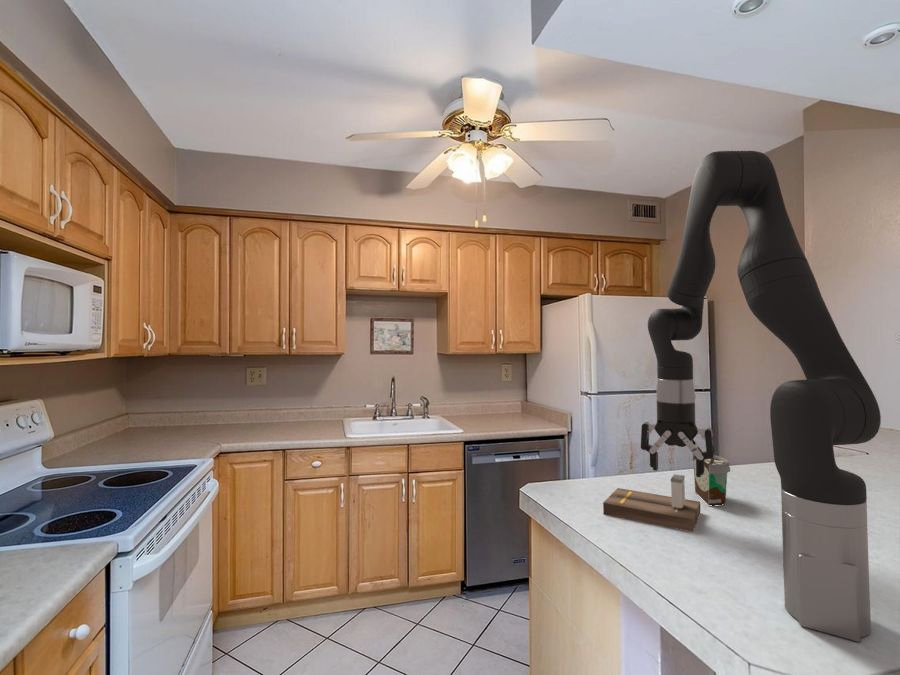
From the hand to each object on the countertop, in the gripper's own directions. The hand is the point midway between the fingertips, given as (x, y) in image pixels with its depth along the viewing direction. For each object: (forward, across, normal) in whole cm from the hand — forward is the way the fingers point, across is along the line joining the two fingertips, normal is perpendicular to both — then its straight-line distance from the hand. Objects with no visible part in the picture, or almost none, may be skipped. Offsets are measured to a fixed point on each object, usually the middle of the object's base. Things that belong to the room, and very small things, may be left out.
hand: (676, 472), depth 98 cm
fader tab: (+7, 0, 0) cm, 7 cm away
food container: (+10, +6, +17) cm, 20 cm away
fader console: (+10, -5, 0) cm, 11 cm away
